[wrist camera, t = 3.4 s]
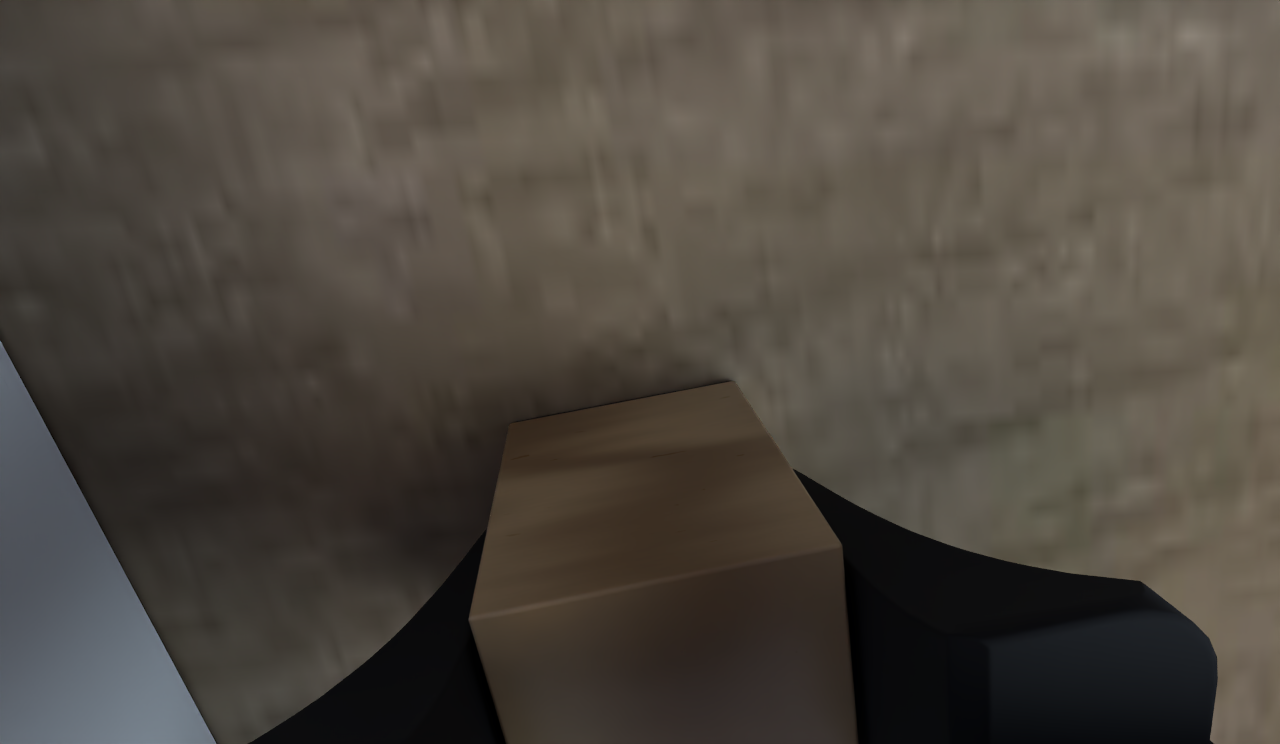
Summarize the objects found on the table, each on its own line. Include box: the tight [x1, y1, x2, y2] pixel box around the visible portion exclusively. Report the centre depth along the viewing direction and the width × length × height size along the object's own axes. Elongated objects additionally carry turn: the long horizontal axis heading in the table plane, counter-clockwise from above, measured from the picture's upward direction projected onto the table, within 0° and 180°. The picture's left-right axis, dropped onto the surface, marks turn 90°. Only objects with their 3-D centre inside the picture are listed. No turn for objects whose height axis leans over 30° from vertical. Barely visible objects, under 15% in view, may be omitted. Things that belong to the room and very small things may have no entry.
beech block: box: [468, 381, 859, 744], centre depth 12 cm, size 5×5×6 cm
